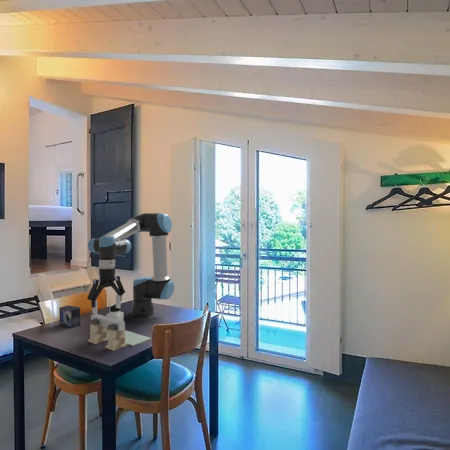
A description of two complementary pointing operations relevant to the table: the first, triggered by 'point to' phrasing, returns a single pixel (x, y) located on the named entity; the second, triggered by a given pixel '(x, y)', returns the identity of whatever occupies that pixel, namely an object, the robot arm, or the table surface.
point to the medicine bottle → (115, 313)
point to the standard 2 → (115, 338)
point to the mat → (134, 338)
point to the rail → (108, 321)
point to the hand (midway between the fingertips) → (106, 310)
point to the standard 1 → (97, 332)
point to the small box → (70, 316)
